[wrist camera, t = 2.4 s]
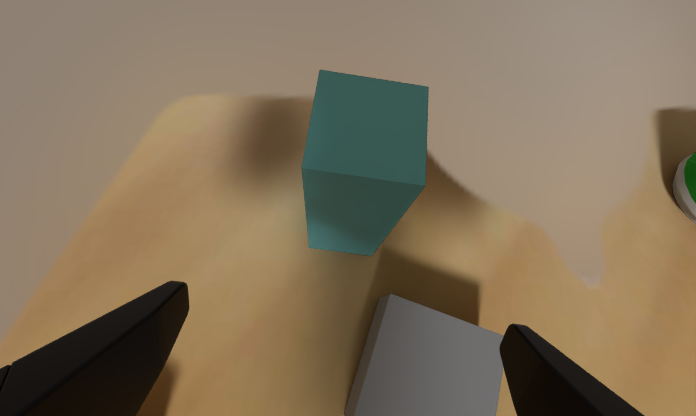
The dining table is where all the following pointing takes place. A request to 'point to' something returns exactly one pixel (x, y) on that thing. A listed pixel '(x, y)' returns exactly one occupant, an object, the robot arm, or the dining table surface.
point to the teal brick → (362, 160)
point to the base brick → (425, 365)
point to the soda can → (686, 186)
